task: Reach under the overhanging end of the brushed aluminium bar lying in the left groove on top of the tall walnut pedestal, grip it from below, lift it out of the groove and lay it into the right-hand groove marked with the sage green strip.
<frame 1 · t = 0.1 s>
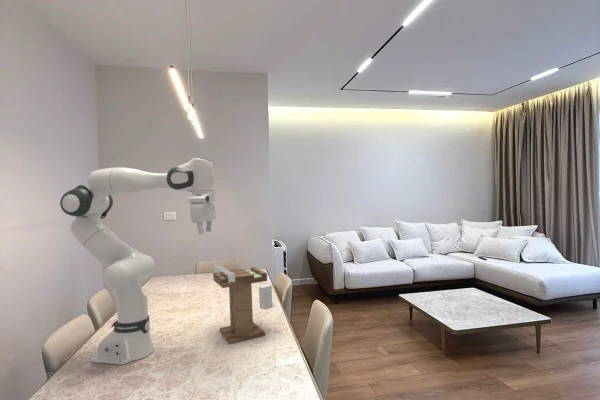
hand: (205, 232, 135), 48 cm above the table, tool pointing down, fingers open, 8 cm apart
walnut pedestal: (241, 333, 152), on the table
aluminium bar: (223, 276, 154), point 26 cm above the table, touching walnut pedestal
skincare box: (265, 307, 188), on the table
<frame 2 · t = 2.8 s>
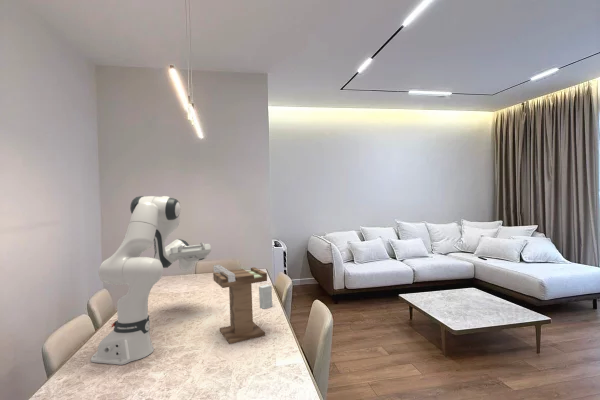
hand: (192, 244, 170), 39 cm above the table, tool pointing upward, fingers open, 8 cm apart
nothing on the table moved.
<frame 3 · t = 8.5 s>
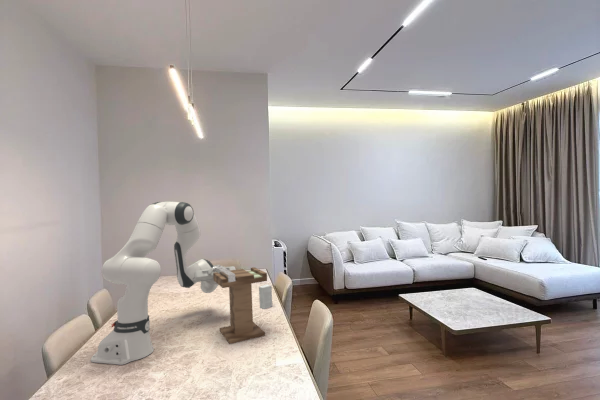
hand: (218, 268, 162), 28 cm above the table, tool pointing upward, fingers closed on aluminium bar, 3 cm apart
aluminium bar: (223, 276, 154), point 26 cm above the table, touching gripper, walnut pedestal
everything else where it was.
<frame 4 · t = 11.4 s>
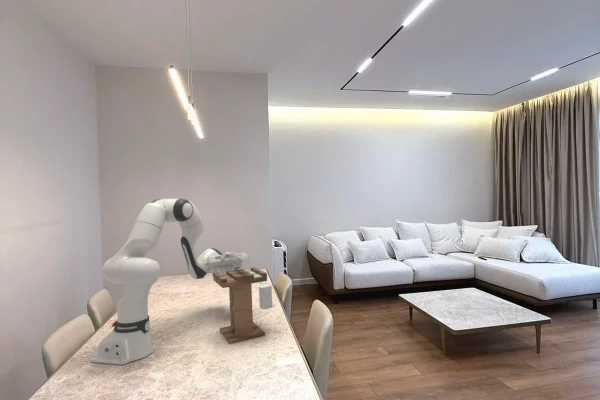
hand: (230, 253, 166), 34 cm above the table, tool pointing upward, fingers closed on aluminium bar, 3 cm apart
aluminium bar: (236, 260, 157), point 32 cm above the table, touching gripper
everything else where it was.
when the fingers open (29 cm above the table, at t = 14.3 s): aluminium bar stays where it is, resting on walnut pedestal.
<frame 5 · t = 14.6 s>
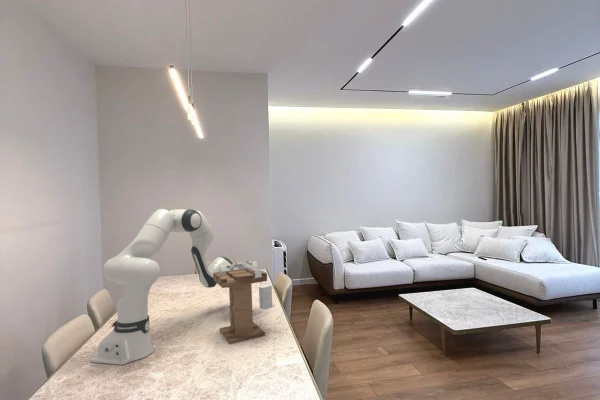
hand: (242, 263, 168), 29 cm above the table, tool pointing upward, fingers open, 5 cm apart
aluminium bar: (248, 272, 160), point 26 cm above the table, touching walnut pedestal
everything else where it was.
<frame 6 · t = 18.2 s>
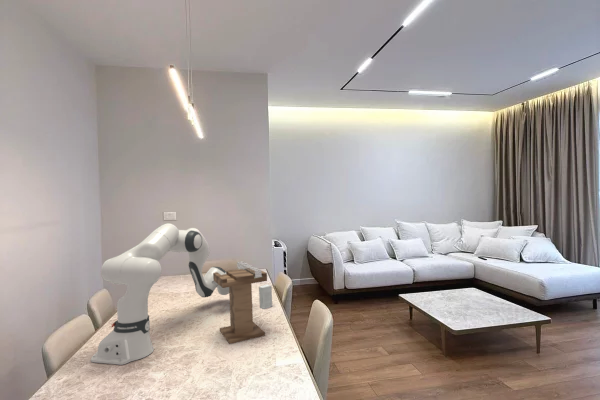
hand: (235, 272, 179), 22 cm above the table, tool pointing upward, fingers open, 8 cm apart
nothing on the table moved.
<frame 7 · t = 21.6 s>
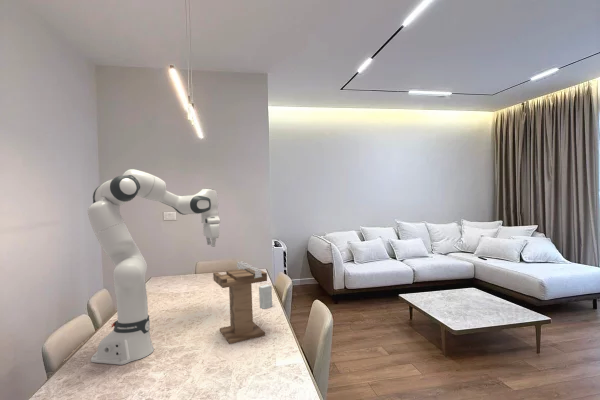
hand: (211, 245, 177), 37 cm above the table, tool pointing down, fingers open, 8 cm apart
nothing on the table moved.
at the end: aluminium bar 0.1 cm from the target spot, point 26.2 cm above the table; aluminium bar tilted 0°; the gripper is holding nothing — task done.
